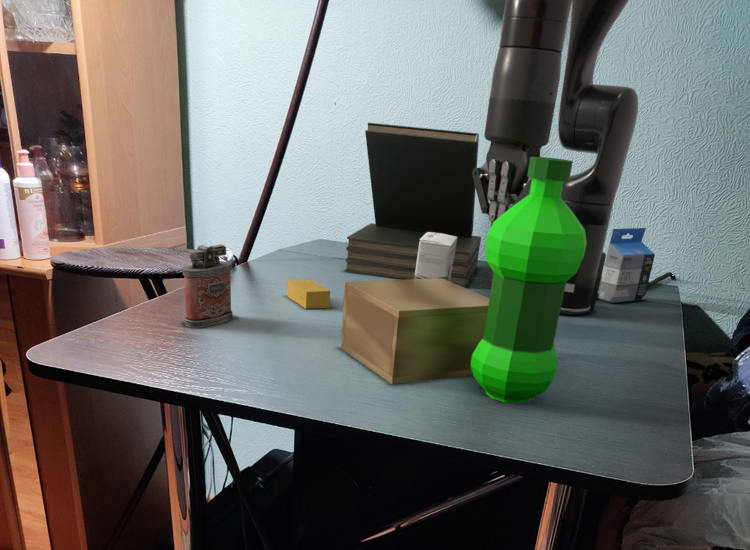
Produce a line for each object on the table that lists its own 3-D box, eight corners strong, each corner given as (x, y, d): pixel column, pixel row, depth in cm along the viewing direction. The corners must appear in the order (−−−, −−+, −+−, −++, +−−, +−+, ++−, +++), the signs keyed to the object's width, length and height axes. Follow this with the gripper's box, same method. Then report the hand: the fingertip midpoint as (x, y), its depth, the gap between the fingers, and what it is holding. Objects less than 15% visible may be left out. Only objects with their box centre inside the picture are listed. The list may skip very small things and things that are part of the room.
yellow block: (310, 295, 117) (310, 279, 116) (329, 307, 111) (330, 290, 110) (287, 296, 115) (287, 280, 114) (305, 309, 110) (306, 291, 108)
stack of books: (476, 268, 148) (496, 132, 136) (465, 287, 131) (487, 134, 119) (368, 254, 152) (378, 120, 139) (344, 271, 135) (353, 121, 123)
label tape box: (612, 304, 129) (630, 232, 123) (595, 298, 132) (611, 228, 126) (644, 300, 134) (663, 231, 128) (627, 295, 137) (644, 227, 131)
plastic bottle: (571, 403, 83) (625, 166, 71) (506, 417, 78) (553, 163, 65) (510, 375, 90) (550, 155, 78) (446, 387, 84) (478, 151, 72)
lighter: (197, 329, 96) (194, 251, 91) (179, 323, 98) (175, 247, 93) (238, 318, 102) (237, 245, 97) (220, 313, 104) (218, 240, 99)
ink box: (441, 326, 107) (451, 243, 101) (408, 322, 108) (416, 239, 102) (447, 312, 114) (458, 234, 109) (416, 308, 115) (425, 230, 109)
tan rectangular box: (434, 340, 100) (442, 278, 96) (492, 373, 90) (504, 304, 86) (340, 348, 94) (344, 281, 90) (391, 384, 84) (399, 310, 80)
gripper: (587, 102, 79) (555, 265, 87) (513, 97, 89) (490, 244, 97) (534, 96, 75) (506, 266, 84) (463, 92, 85) (444, 244, 94)
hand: (497, 254), depth 91 cm, fingers closed
